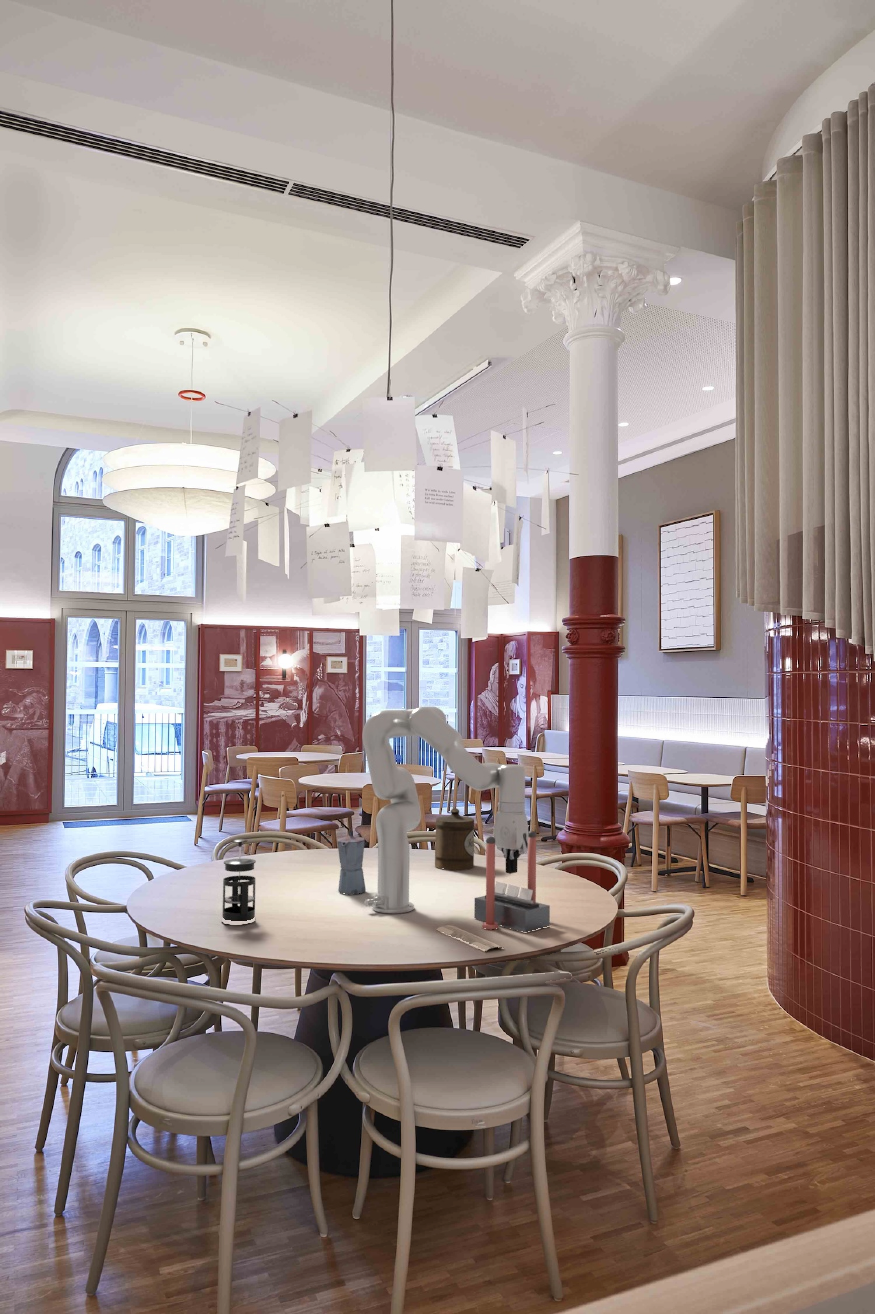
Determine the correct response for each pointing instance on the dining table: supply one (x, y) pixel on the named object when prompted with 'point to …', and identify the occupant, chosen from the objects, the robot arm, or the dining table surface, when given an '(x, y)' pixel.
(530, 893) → the breaker paddles
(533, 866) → the far post
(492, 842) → the near post
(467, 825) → the wooden container
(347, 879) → the moka pot
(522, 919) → the box
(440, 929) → the beige flat board
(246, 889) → the french press
